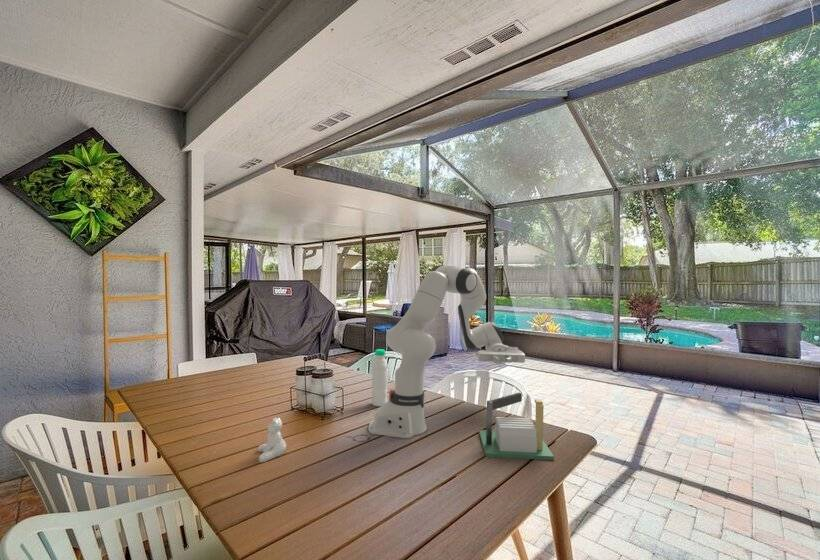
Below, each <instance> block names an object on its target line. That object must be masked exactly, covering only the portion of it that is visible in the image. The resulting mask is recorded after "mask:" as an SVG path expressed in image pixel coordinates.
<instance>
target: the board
mask: <svg viewBox="0 0 820 560" xmlns="http://www.w3.org/2000/svg"><path fill="white" fill-rule="evenodd" d="M541 399H542V398H541ZM541 399H540V398H539V399H536V398H534V402H535V425H534V423H533V421H532V420H531V418H530V417H529V418H528V417H527V418H526V417H500V416H499V417H498V416H496V417H495V427H494V429H495V430H492V444H487V443H486V429H485V430H482V429H481V430H478V434H480V435H479V438H480V442H481V444H482V449H483V452H484V456H485V457H486V458H503V459H524V458H525V460H545V461H546V460H547V461H554V460H555V456H554V454H553V452H552V451H551V450H550V448H549V447H548V444H547V442H545V441H544V410H545V409H544V402H543V401H542V400H541Z"/></svg>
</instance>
